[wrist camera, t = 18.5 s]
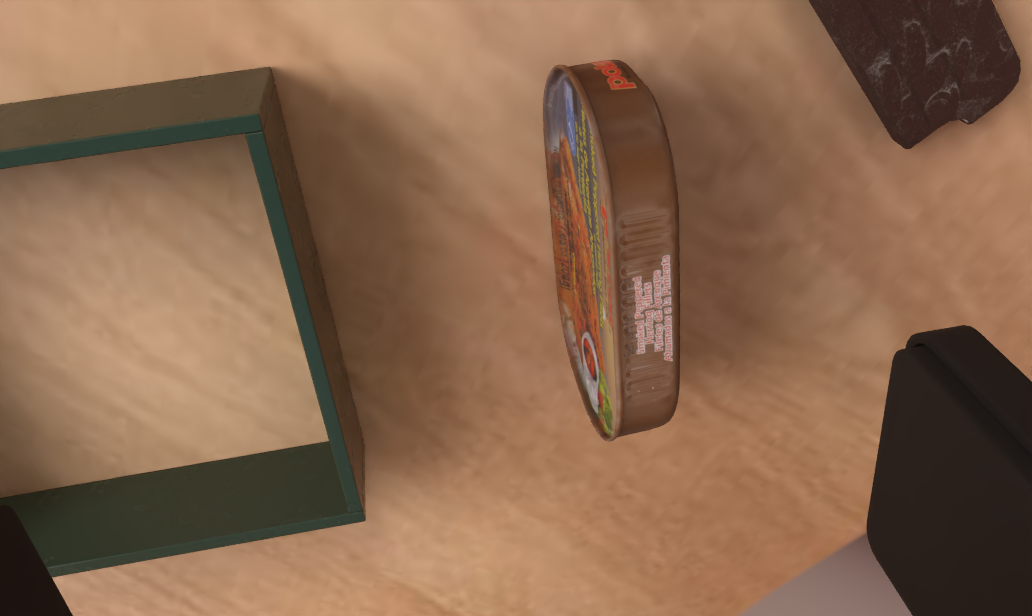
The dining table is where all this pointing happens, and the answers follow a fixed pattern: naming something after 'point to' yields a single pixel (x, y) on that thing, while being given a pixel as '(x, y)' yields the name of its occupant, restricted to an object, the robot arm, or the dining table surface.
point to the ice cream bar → (924, 59)
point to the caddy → (323, 466)
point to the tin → (614, 243)
